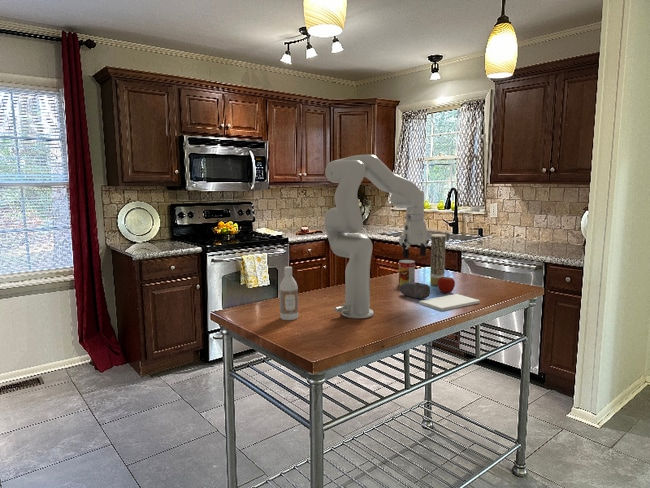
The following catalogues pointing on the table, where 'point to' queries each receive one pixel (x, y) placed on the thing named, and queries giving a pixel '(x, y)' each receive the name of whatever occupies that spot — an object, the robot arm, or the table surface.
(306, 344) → the table surface
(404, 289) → the perforated stone tool
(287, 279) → the bath foam
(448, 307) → the cream board
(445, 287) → the apple
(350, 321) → the table surface
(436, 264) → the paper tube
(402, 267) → the canned food
